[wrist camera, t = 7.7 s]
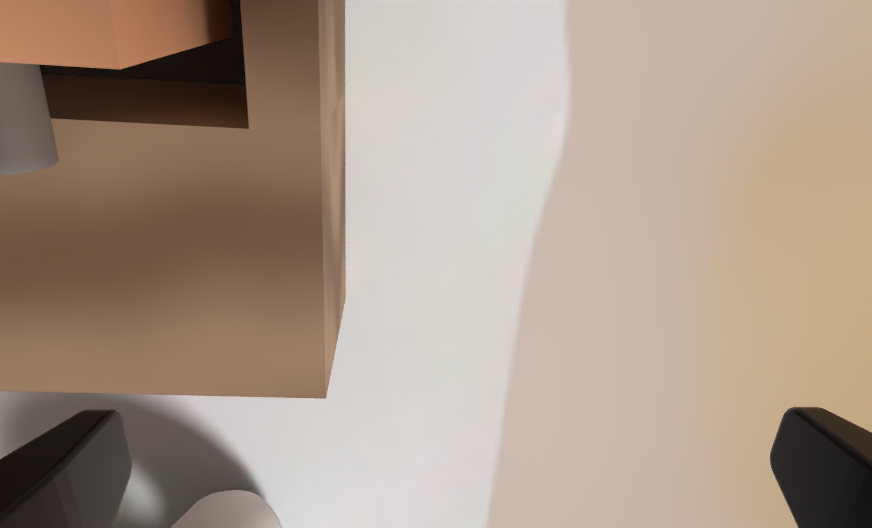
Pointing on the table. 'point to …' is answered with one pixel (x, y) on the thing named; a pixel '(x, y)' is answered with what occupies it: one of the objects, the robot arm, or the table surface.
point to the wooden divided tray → (179, 221)
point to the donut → (230, 512)
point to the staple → (108, 30)
